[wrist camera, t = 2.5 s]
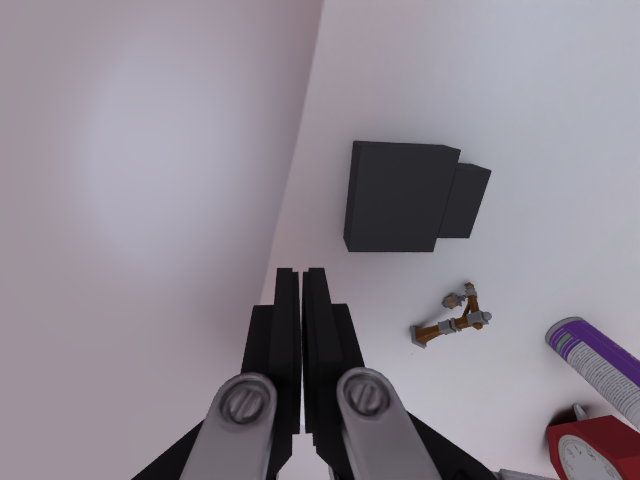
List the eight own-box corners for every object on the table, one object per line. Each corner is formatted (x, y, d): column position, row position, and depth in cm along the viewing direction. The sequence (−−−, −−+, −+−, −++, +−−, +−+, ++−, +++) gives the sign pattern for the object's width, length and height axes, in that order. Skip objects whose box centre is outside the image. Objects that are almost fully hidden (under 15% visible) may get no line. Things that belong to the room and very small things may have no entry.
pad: (353, 140, 20) (360, 145, 18) (476, 146, 21) (498, 151, 19) (343, 238, 23) (348, 252, 21) (449, 239, 24) (464, 252, 22)
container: (594, 319, 31) (821, 481, 18) (569, 348, 33) (756, 514, 20) (561, 314, 30) (773, 482, 17) (537, 344, 32) (710, 515, 19)
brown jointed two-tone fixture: (485, 283, 26) (500, 327, 23) (419, 311, 31) (424, 350, 28) (473, 275, 25) (486, 319, 22) (408, 305, 31) (411, 344, 28)
